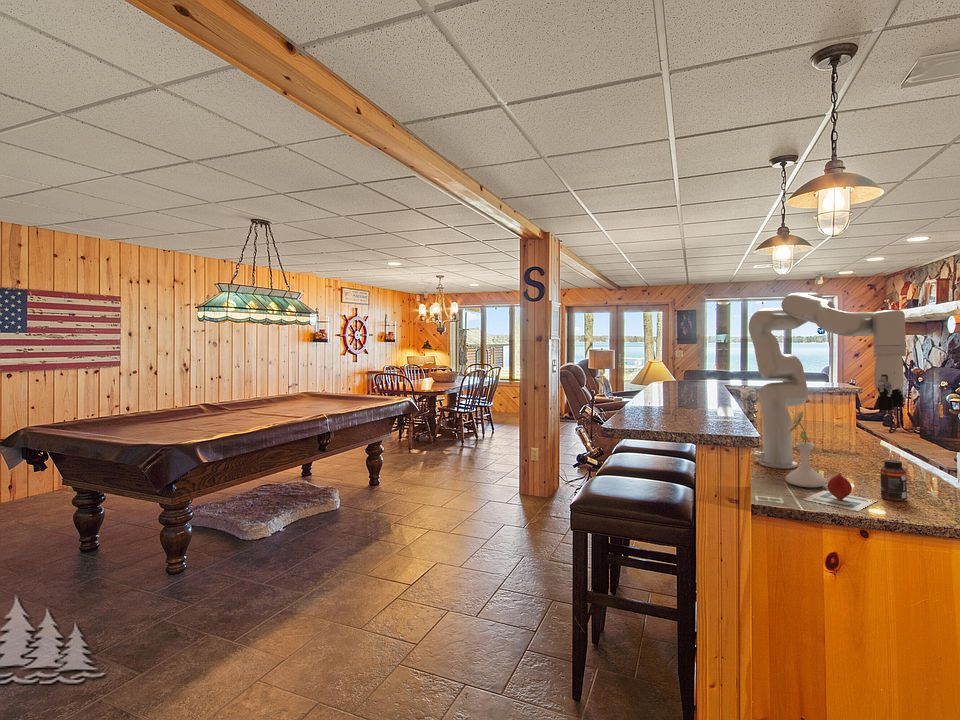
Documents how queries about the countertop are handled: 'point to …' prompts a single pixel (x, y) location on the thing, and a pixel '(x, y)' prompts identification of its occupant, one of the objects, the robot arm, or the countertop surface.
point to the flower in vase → (804, 461)
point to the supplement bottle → (893, 481)
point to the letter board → (840, 501)
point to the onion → (839, 487)
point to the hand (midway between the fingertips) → (891, 408)
